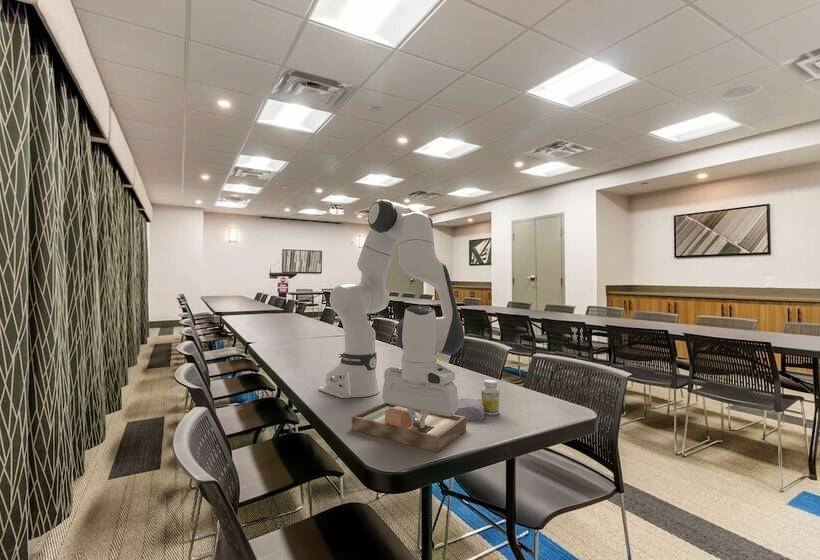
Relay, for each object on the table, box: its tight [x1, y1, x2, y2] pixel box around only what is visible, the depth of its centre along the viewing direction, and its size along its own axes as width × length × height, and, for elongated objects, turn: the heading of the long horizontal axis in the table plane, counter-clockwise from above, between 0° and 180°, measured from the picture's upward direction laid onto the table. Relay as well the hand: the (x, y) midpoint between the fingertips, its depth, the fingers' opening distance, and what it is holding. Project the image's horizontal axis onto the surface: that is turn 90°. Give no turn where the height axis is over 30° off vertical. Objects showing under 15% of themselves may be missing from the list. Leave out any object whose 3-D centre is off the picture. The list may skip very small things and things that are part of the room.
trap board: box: [351, 401, 467, 453], centre depth 102 cm, size 26×17×3 cm, turn 59°
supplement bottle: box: [481, 379, 500, 416], centre depth 117 cm, size 5×5×10 cm
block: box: [385, 406, 412, 428], centre depth 98 cm, size 5×5×4 cm
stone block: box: [453, 397, 485, 421], centre depth 116 cm, size 12×5×10 cm
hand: (418, 426), depth 95 cm, fingers closed
